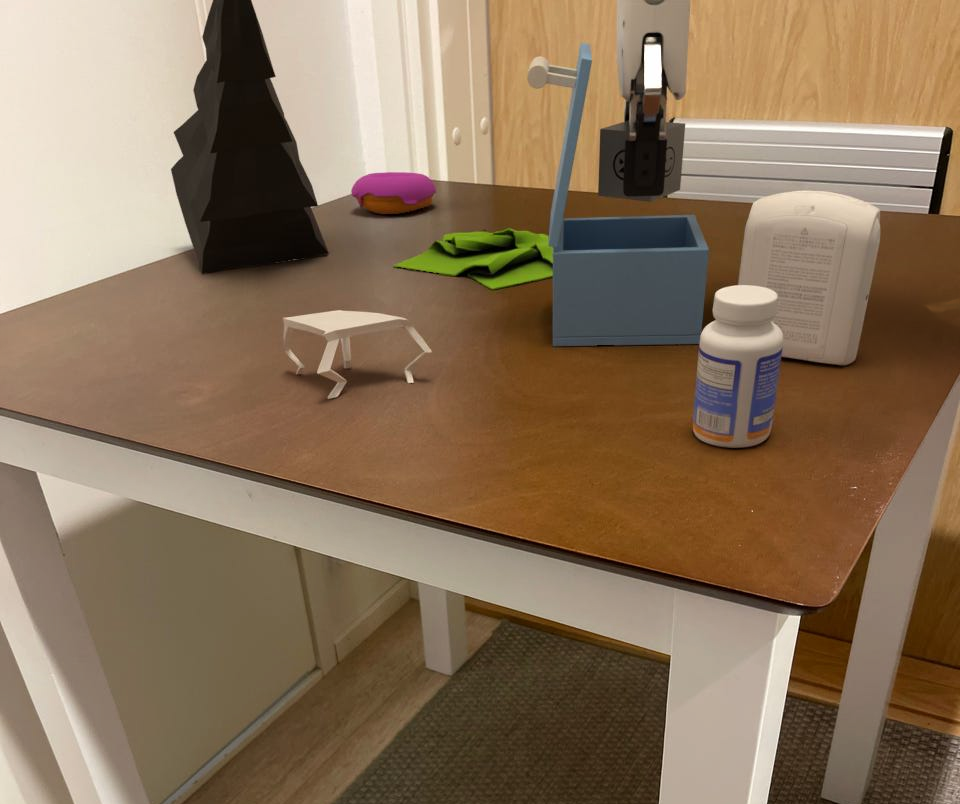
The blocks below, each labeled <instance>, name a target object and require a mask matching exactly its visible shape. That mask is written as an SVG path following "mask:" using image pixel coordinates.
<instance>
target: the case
mask: <svg viewBox="0 0 960 804" xmlns="http://www.w3.org/2000/svg"><path fill="white" fill-rule="evenodd" d="M709 254H710V249H709V246H708V244H707V241H706V238H705V237H704V234H703V232H702V229H701V227H700V225H699V222H698V220H697V217H696V215H695V214H675V215H671V214H670V215H638V216H637V215H636V216H604V217H601V216H599V217H598V216H597V217H567V218H566V217H565V218H564V217H563V222H562V227H561V233H560V238H559V243H558V247H557V248H555V247H553V277H552V347H597V345H614V346H659V345H660V346H665V345H666V346H667V345H669V346H670V345H671V346H672V345H676V344H677V345H699V344H700V336H701V333H702V331H703V330H702V329H703V321H704V311H705V310H704V308H705V299H706V289H707V288H706V287H707V278H708V266H709V258H710V257H709V256H710V255H709Z"/></svg>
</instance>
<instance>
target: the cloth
mask: <svg viewBox="0 0 960 804" xmlns="http://www.w3.org/2000/svg"><path fill="white" fill-rule="evenodd" d="M548 241H549V235H547V234H545V233H534V232H531V231H529V230H515V229H513V228H510V227H508V228H506V229H503V230H498V231H494V232H487V231H472V232H452V233H447V234H445V233H444V235H443V237H442V240H437V239H436V240H435V241H434V242H433V243H432V244H431V245H430V246H429V248H428V249H427V250H426V251H425V252H423V253H421V254H418V255H416V256H413V257H410V258H409V259H406V260H403V261H400V262H398V263H395V264H393V265H392V267H393V268H397V267H401V268H400V269H403V268H408V269H407V270H410V269H414V270H413V271H416V270H420V271H419V272H423V271H426V272H425V273H429V272H433V273H432V274H436V273H439V274H438V275H443V276H452V277H456V276H459V274H462V273H466V272H468V273H467V277H469V278H470V277H471V278H470V279H473V280H475V281H476V282H477V283H478V284H480V283H481V284H480V285H482V286H484V287H486V288H488V289H490V290H492V291H494V290H500V289H504V288H508V287H509V288H510V287H514V286H519V285H522V284H523V285H524V284H527V283H528V284H529V283H532V281H533V282H537V281H542V280H545V279H549V278H553V247H549V246H548ZM518 284H519V285H518Z"/></svg>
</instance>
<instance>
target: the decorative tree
mask: <svg viewBox="0 0 960 804" xmlns="http://www.w3.org/2000/svg"><path fill="white" fill-rule="evenodd" d="M201 38H202V41H203V45H204V47H205V59H206V60H205V61H204V64H203V65H202V67H201V69H200V70H199V72H198V73H197V75H196V78H195V81H194V85H193V90H192V91H193V95H194V101H195V104H196V108H197V110H196V111H195V112H194V113H193V114H192V115H191V116H190V117H189V118H188V119H186V120H185V121H184V123H182V124H181V125H180V126H179V127H177V128H176V129H175V130H174V131H173V135H174V138H175V140H176V142H177V144H178V147H179V150H180V151H181V155H182V156H181V157H180V159H178V160H177V161H176V163H175V164H174V165H173V166H172V167H171V169H170V173H171V177H172V180H173V185H174V190H175V194H176V197H177V201H178V204H179V207H180V210H181V214H182V217H183V220H184V223H185V227H186V229H187V233H188V236H189V239H190V242H191V245H192V247H193V251H194V254H195V257H196V260H197V263H198V265H199V269H200V272H201V275H205V274H210V273H214V272H218V271H224V270H228V269H233V268H234V269H236V268H245V267H255V266H262V265H271V264H277V263H276V262H280V263H283V262H282V261H287V262H289V261H288V260H293V259H300V260H303V259H302V258H305V259H309V258H315V257H321V256H324V255H329V254H330V252H329V249H328V247H327V245H326V242H325V240H324V239H325V238H324V237H323V234H322V232H321V229H320V227H319V225H318V221H317V219H316V217H315V214H314V212H313V209H312V208H314V207H319V205H318V200H317V198H316V194H315V190H314V187H313V185H312V183H311V181H310V178H309V176H308V174H307V172H306V169H305V167H304V166H303V164H302V161H301V160H300V154H299V148H298V142H297V140H296V138H295V135H294V134H293V131H292V129H291V127H290V125H289V123H288V121H287V119H286V117H285V112H284V109H283V107H282V104H281V102H280V99H279V97H278V94H277V92H276V89H275V86H274V84H273V81H272V78H276V77H277V76H276V73H275V70H274V67H273V64H272V60H271V57H270V54H269V50H268V46H267V44H266V41H265V37H264V34H263V31H262V27H261V24H260V22H259V19H258V16H257V13H256V10H255V7H254V4H253V1H252V0H212V2H211V5H210V8H209V11H208V15H207V18H206V21H205V25H204V29H203V33H202V36H201ZM204 273H205V274H204Z"/></svg>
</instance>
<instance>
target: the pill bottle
mask: <svg viewBox="0 0 960 804" xmlns="http://www.w3.org/2000/svg"><path fill="white" fill-rule="evenodd" d="M777 301H778V295H777V293H776V292H775V291H773V290H771V289H768V288H765V287H760V286H752V285H738V284H737V285H730V286H729V285H728V286H725V287H721V288H720V289H718V290H717V291H716V292H715V293H714V297H713V304H712V316H713V318H714V319H715V320H713V321H711V322H710V323H708V324H707V325H706V326H704V328H702V329H703V330H702V332H701V336H700V344H698V357H697V368H696V378H695V379H696V381H695V392H694V405H693V415H692V431H693V433H694V435H695V437H696V438H697V439H698V440H700V441H702V442H704V443H705V444H708V445H710V446H711V445H712V446H714V447H715V446H716V447H722V448H731V449H733V448H734V449H735V448H736V449H738V448H739V449H740V448H751V447H754V446H757V445H759V444H762V443H763V442H765V440H767V439H768V438H769V436H770V434H771V432H772V426H773V420H774V413H775V407H776V398H777V390H778V383H779V377H780V369H781V364H782V363H781V361H782V357H781V355H782V348H783V334H782V331H781V329H780V328H779V327H778V326H777V325H776V324H774V323H772V322H771V320H773V319H774V318H775V315H776V312H777Z"/></svg>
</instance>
